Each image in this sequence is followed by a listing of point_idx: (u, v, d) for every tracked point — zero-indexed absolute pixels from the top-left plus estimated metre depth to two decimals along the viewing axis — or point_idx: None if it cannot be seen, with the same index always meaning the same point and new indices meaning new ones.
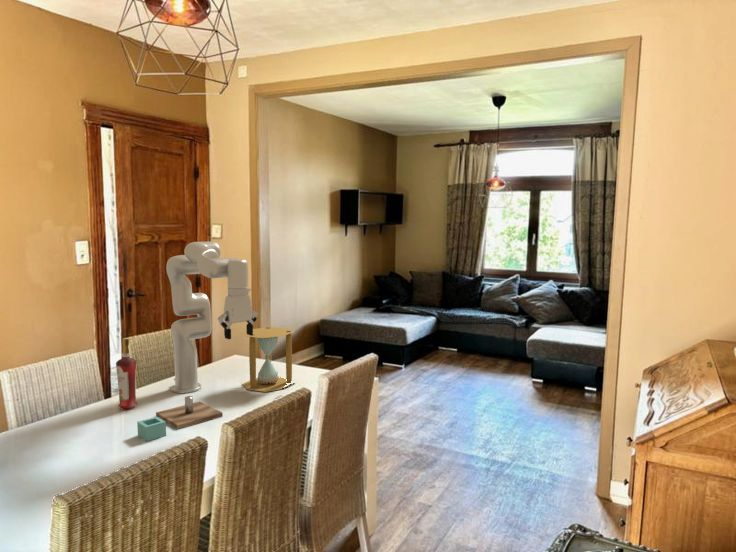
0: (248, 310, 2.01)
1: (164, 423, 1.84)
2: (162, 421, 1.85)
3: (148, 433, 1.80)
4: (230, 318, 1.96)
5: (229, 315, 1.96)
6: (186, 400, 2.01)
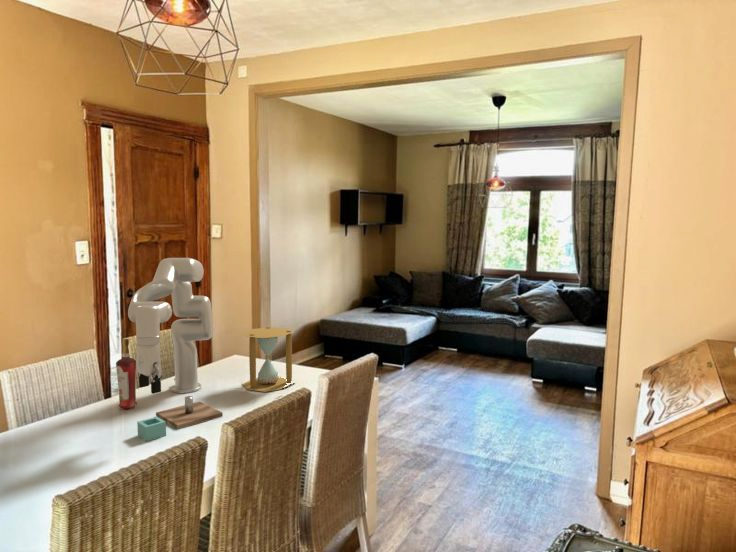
0: None
1: (164, 423, 1.84)
2: (162, 421, 1.85)
3: (148, 433, 1.80)
4: (160, 368, 1.80)
5: (159, 365, 1.80)
6: (186, 400, 2.01)
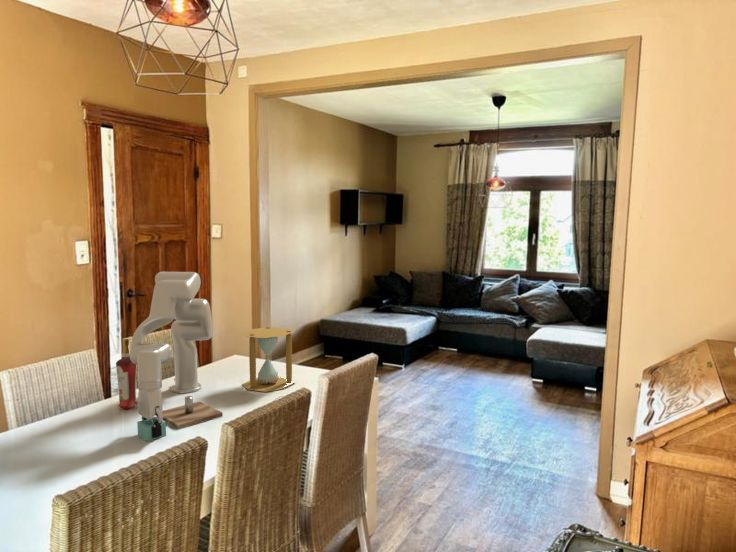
0: None
1: (164, 423, 1.84)
2: (162, 421, 1.85)
3: (148, 433, 1.80)
4: (162, 412, 1.82)
5: (161, 409, 1.81)
6: (186, 400, 2.01)
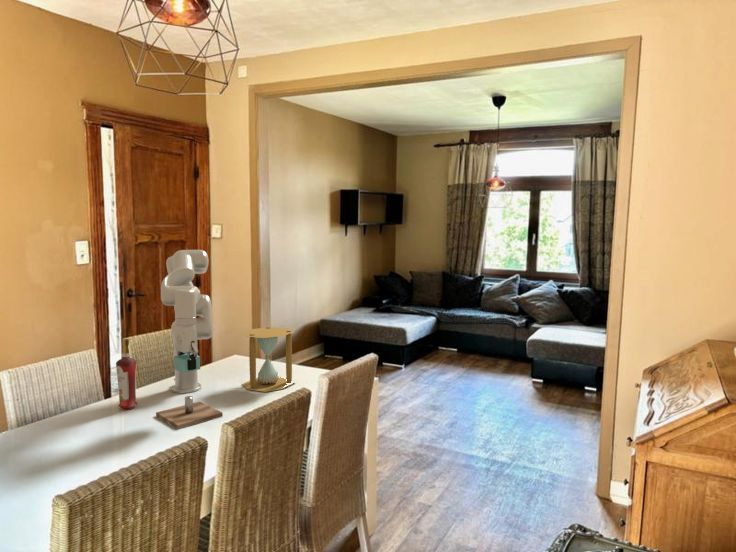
0: None
1: (198, 357, 2.00)
2: None
3: (184, 365, 1.96)
4: None
5: (196, 344, 1.97)
6: (186, 400, 2.01)
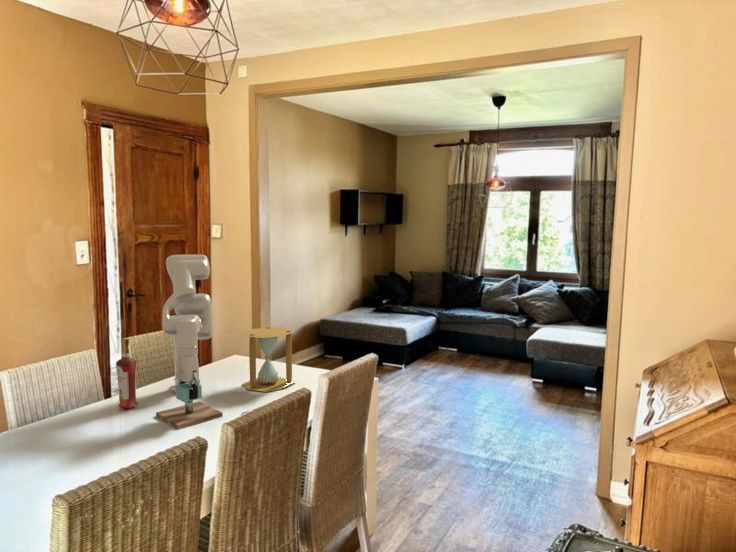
0: None
1: (200, 386, 2.02)
2: None
3: (186, 395, 1.98)
4: (198, 376, 1.99)
5: (197, 373, 1.99)
6: None
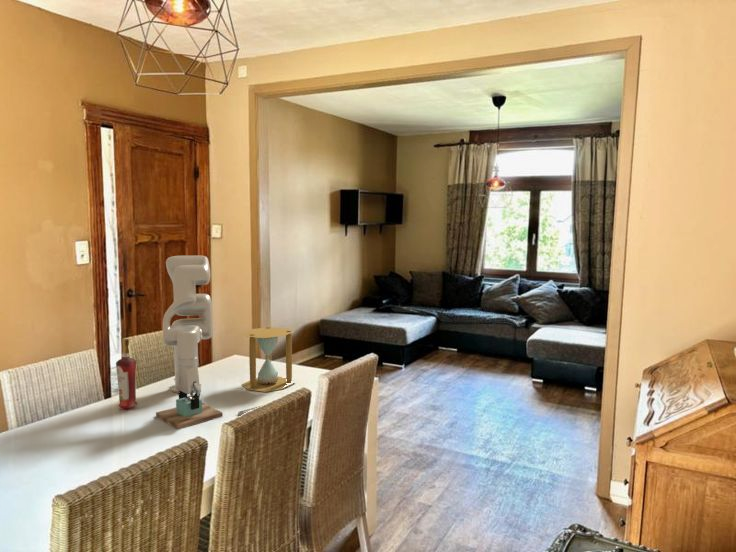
0: None
1: (200, 401, 2.02)
2: None
3: (186, 410, 1.98)
4: None
5: (198, 384, 1.99)
6: (186, 400, 2.01)
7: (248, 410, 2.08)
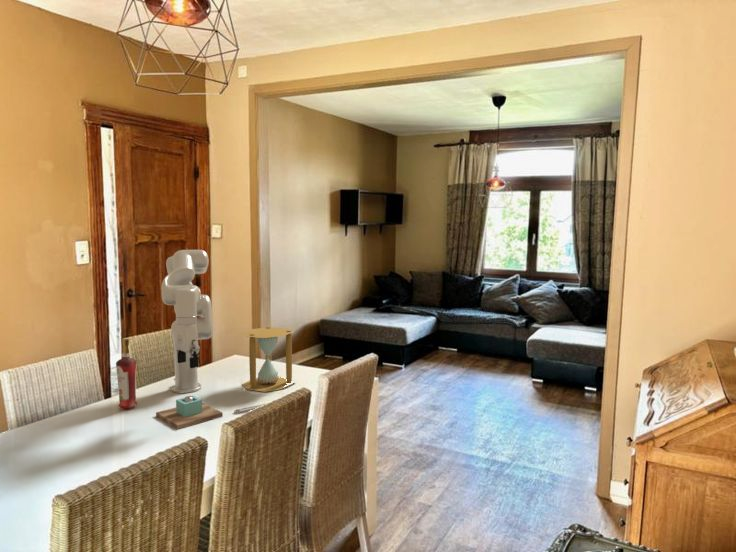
0: None
1: (200, 401, 2.02)
2: (198, 399, 2.03)
3: (186, 410, 1.98)
4: None
5: (197, 343, 1.98)
6: (186, 400, 2.01)
7: (245, 409, 2.09)
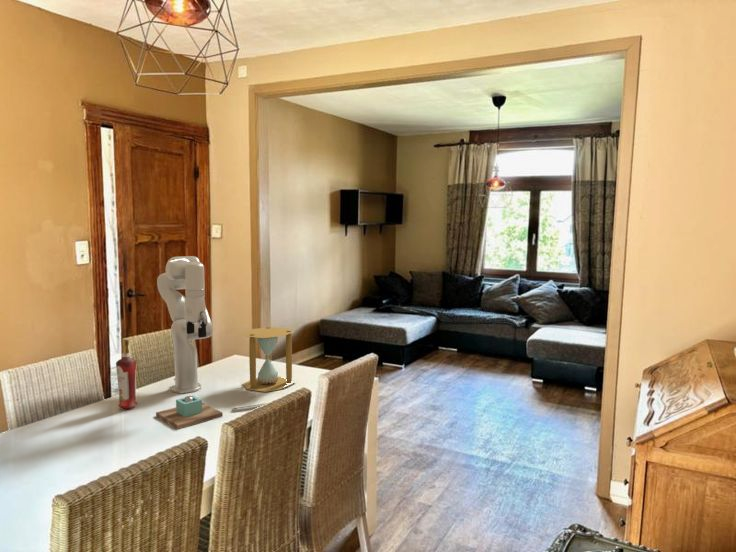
0: None
1: (200, 401, 2.02)
2: (198, 399, 2.03)
3: (186, 410, 1.98)
4: None
5: (205, 314, 2.12)
6: (186, 400, 2.01)
7: (243, 407, 2.11)
